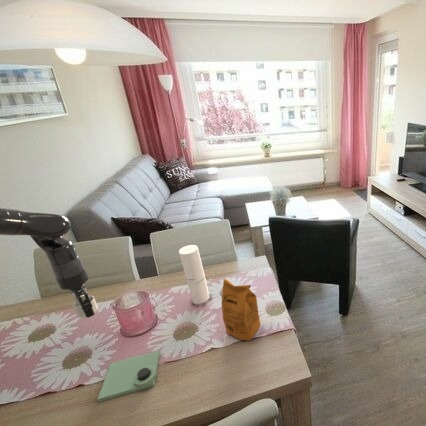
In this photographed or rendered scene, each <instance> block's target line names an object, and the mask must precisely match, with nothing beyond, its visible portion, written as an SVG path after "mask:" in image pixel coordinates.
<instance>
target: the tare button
mask: <svg viewBox="0 0 426 426" xmlns="http://www.w3.org/2000/svg"><path fill="white" fill-rule="evenodd" d="M137 376H138V378H139V380H141V381H143V380H145V379H147V378H148V377H149V376H150V371H149V369H148V368H143V369H141V370H140V371H139V372H138V374H137Z"/></svg>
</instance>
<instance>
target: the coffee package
mask: <svg viewBox="0 0 426 426" xmlns="http://www.w3.org/2000/svg"><path fill="white" fill-rule="evenodd" d="M250 288H251V284H242V285H234V284H233V283H232V282H231V281H230V280H229V279H228V278H227V279H226V278H225V279H223V285H222V292H221V312H222V321H223V323H224V328H225V332H226V334H227V335H229V336H233V338H235V339H237V340H240V341H247V342H249V341H251V340H252V339H253V338H254V336H255V335H256V334H257V332H258V331H259V329H260V327H261V321H260V315H259V306H258V305H259V304H258V299H257V298H258V297H257V295H256V294H255V293H254V292H253V291H252V290H251V289H250Z"/></svg>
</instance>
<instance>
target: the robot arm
mask: <svg viewBox="0 0 426 426" xmlns="http://www.w3.org/2000/svg"><path fill="white" fill-rule="evenodd" d="M71 224H72V223H71V221H70V220H69V218H67V217H66V216H64V215H63V214H57V213H48V212H47V213H46V212H45V213H44V212H31V211H24V210H20V209H13V208H6V207H5V208H4V207H0V236H29V237H30V238H31V239H32V240H33V242H34V243H35V245H37V246H38V248H40V250H42V252H44V255H45V257H46V259H47V262H48V263H49V265H50V269H51V272H52V274H53V276H54V278H55V281H56V282H57V285H58V286H59V288H60V289H61V290H65V291H67V290H68V291H69V293H70V294H71V296H72V297H73V298H74V301H76V302H77V303H78V304H80V305H81V307H82V308H81V309H82V310H83V311H84V313H85V315H86V318H88V319H89V318H91V317H93V316H94V315H95V314H94V312H93V309H92V306H93V305H92V304H91V302H90V300H89V299H90V297H89V296H90V295H89V293H88V289H87V287H86V285H85V283H87V282H88V280H89V275H88V273H87V270H86V268H85V266H84V263H83V261H82V259H81V258H80V256H79V254H78V252H77V250H76V248H75V245H74V244H73V242H72V241H71V240H70V239H67V238H65V237H63V236H66V235H67V234H68V233H69V232H70V230H71V228H72V225H71ZM78 300H79V301H78ZM87 303H88V304H87ZM85 304H86V305H85Z"/></svg>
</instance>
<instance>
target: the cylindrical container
mask: <svg viewBox="0 0 426 426" xmlns="http://www.w3.org/2000/svg"><path fill="white" fill-rule="evenodd" d="M178 255H179V257H180V262H181V265H182V269H183V272H184V276H185V279H186V282H187V283H186V284H187V287H188V291H189V293H190V297H191V301H192V303H193V304H194V305H201V304H204V303H206V302H207V301H208V300H209V299H210V292H209V288H208V283H207V279H206V275H205V271H204V267H203V262H202V259H201V256H200V255H201V254H200V250H199V247H198V245H196V244H189V245H185V246H183V247H181V248H180V249H179V250H178Z"/></svg>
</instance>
